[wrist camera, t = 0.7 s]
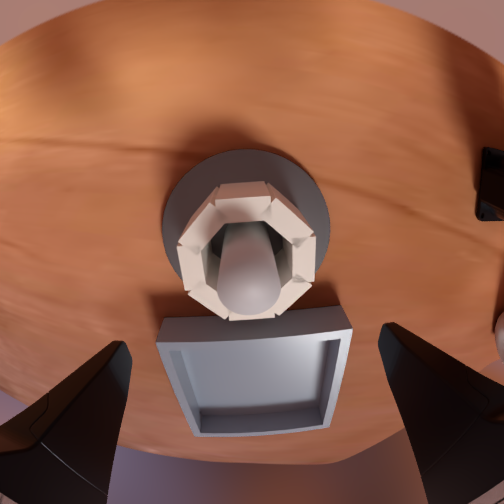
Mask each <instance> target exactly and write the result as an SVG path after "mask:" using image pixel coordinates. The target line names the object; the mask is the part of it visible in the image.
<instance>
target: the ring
mask: <svg viewBox="0 0 504 504" xmlns="http://www.w3.org/2000/svg"><path fill="white" fill-rule="evenodd" d="M251 221H265V222H267V223H268V224H269V225H270V226H271V227H273V228H274V229H275V230H276V231H277V232H278V233H280V234H281V235H282V238H283V248H282V249H281V250H280V251H279V252H278V253H277V254H276V255H275V256H274V258H275V262H276V267H277V271H278V275H279V279H280V283H281V292H280V296H279V298H278V300H277V302H276V303H275V304H274V305H273V306H272V307H271V308H270V309H268V310H267V311H265V312H263V313H260V314H256V315H241V314H237V313H234V312H232V311H230V310H229V309H227V308H226V307H225V306H224V305H223V304H222V302H221V301H220V299H219V297H218V294H217V282H218V275H219V268H220V261H221V259H220V258H219V257H217V256H216V255H215V254H213V253H212V245H211V239H212V237H213V236H214V235H215V234H216V233H217V232H218V231H219V229H220V228H221V227H222V226H223V225H224V224H225V223H238V222H251ZM313 232H314V231H313V230H312V228H311V227H310V225H309V224H308V222H307V221H306V219H305V218H304V216H303V215H302V213H301V212H300V211H299V209H298V208H296V207H295V206H294V205H293V204H292V203H291V202H290V201H289V200H288V199H287V198H285V197H284V196H283V195H282V194H281V193H280V192H279V191H278V190H276V189H275V188H274V187H273V186H272V185H271V184H270V183H268V184H267V185H266V184H265V182H264V181H257V182H242V183H229V184H221V185H220V188H218V187H216V188H215V189H214V190H213V191H212V193H211V194H210V195H209V196H208V197H207V199H206V200H205V201H204V202H203V203H202V205H201V206H200V207H199V208H198V209H197V211H196V212H195V213H194V214H193V216H192V217H191V218H190V220H189V222H188V224H187V226H186V227H185V229H184V231H183V233H182V235H181V237H180V239H179V240H178V242H179V243H178V245H177V251H178V257H179V262H180V267H181V273H182V278H183V283H184V288H185V291H187V290H189V292H188V295H189V296H191V297H192V298H194V299H195V300H196V301H198V302H199V303H201V304H202V305H204V306H205V307H207V308H208V309H210V310H211V311H213V312H214V313H216V314H217V315H219V316H220V317H222V318H223V319H226V318H227V317H228V316H229V321H233V320H249V319H263V318H275V313H276V314H277V315H281V314H282V313H283V312H284V311H285V310H286V309H287V308H288V307H290V306H291V305H292V304H293V303H294V302H295V301H296V300H297V299H298V298H299V297H301V296H302V295H303V294H304V293H305V292H306V291H307V290H308V289H309V288H310V287H311V286H312V284H311V282H314V276H315V250H316V236H315V234H314V233H313Z"/></svg>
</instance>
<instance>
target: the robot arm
mask: <svg viewBox="0 0 504 504" xmlns="http://www.w3.org/2000/svg"><path fill="white" fill-rule="evenodd" d="M487 152H488V154H487ZM476 217H477V219H478V220H480V221H504V151H501V150H498V149H494V148H490V147H484V149H483V156H482V172H481V183H480V192H479V200H478V208H477V214H476ZM378 347H379V351H380V354H381V358H382V361H383V365H384V369H385V372H386V376H387V380H388V383H389V385H390V388H391V391H392V393H393V396H394V398H395V401H396V404H397V406H398V409H399V412H400V415H401V417H402V420H403V423H404V426H405V428H406V431H407V434H408V437H409V440H410V443H411V446H412V449H413V452H414V455H415V458H416V461H417V465H418V468H419V471H420V475H421V479H422V482H423V486H424V489H425V493H426V497H427V500H428V504H504V386H503V385H501V384H499V383H497V382H495V381H493V380H491V379H489V378H487V377H485V376H483V375H482V374H480V373H478V372H476V371H475V370H473V369H471V368H470V367H468V366H466V365H465V364H463V363H461V362H460V361H458V360H457V359H455V358H453V357H452V356H450V355H448V354H447V353H445V352H443V351H442V350H440V349H438V348H437V347H435V346H433V345H432V344H430V343H428V342H427V341H425V340H423V339H422V338H420V337H418V336H417V335H415V334H413V333H412V332H410V331H408V330H407V329H405V328H403V327H402V326H400V325H398V324H397V323H395V322H390V323H385V324H383V326H382V328H381V332H380V336H379V340H378ZM131 369H132V357H131V354H130V352H129V350H128V347H127V345H126V343H125V342H124V341H116V340H115V341H112V342H111V343H110V344H108V345H107V346H106V347H105V348H103V349H102V350H101V351H99V352H98V353H97V354H96V355H94V356H93V357H92V358H91V359H89V360H88V361H87V362H85V363H84V364H83V365H82V366H80V367H79V368H78V369H77V370H75V371H74V372H73V373H71V374H70V375H69V376H68V377H66V378H65V379H64V380H63V381H61V382H60V383H59V384H58V385H56V386H55V387H54V388H53V389H51V390H50V391H49V393H46V394H45V395H44V396H43V397H41V398H40V399H39V400H37V401H36V402H35V403H33V404H32V405H31V406H29V407H28V408H26V409H25V410H24V411H22V412H21V413H19V414H18V415H16V416H15V417H13V418H12V419H10V420H9V421H7V422H6V423H4V424H2V425H1V426H0V504H106V503H107V497H108V496H107V495H108V489H109V483H110V477H111V471H112V465H113V461H114V456H115V450H116V446H117V441H118V436H119V432H120V427H121V423H122V418H123V414H124V410H125V406H126V402H127V397H128V390H129V383H130V376H131Z"/></svg>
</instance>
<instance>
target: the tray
mask: <svg viewBox="0 0 504 504" xmlns="http://www.w3.org/2000/svg"><path fill="white" fill-rule="evenodd" d="M352 330H353V328H352V326H351V324H350V322H349V320H348V318H347V316H346V314H345V312H344V310H343V308H342V306H341V305H337V306H329V307H320V308H310V309H300V310H290V311H284V312H283V313H282V314H281V315H277V314H276V313H275V318H263V319H249V320H233V321H229V316H228V317H227V318H226V319H223V318H222V317H220V316H198V317H165V318H164V319H163V322H162V325H161V328H160V331H159V334H158V337H157V340H156V345H157V348H158V351H159V354H160V356H161V359H162V362H163V364H164V367H165V370H166V372H167V375H168V377H169V380H170V382H171V385H172V387H173V390H174V392H175V394H176V397H177V399H178V401H179V404H180V406H181V408H182V411H183V413H184V415H185V417H186V419H187V422H188V424H189V426H190V428H191V430H192V432H193V434H194V436H197V437H238V436H259V435H272V434H283V433H292V432H300V431H308V430H314V429H321V428H327V427H329V426H330V423H331V419H332V416H333V412H334V409H335V405H336V401H337V397H338V394H339V390H340V386H341V382H342V377H343V373H344V369H345V364H346V360H347V355H348V350H349V346H350V341H351V335H352Z"/></svg>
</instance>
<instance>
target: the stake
mask: <svg viewBox="0 0 504 504" xmlns="http://www.w3.org/2000/svg"><path fill="white" fill-rule="evenodd" d="M257 181H264V182H265V184H266V185H267V184H268V183H270V184H271V185H272V186H273V187H274V188H275V189H276V190H278V191H279V192H280V193H281V194H282V195H283V196H284V197H285V198H287V199H288V200H289V201H290V202H291V203H292V204H293V205H294V206H295V207H296V208H298V209H299V211H300V212H301V213H302V215H303V216H304V218H305V219H306V221H307V222H308V224H309V225H310V227H311V228H312V230H313V231H314V232H313V233H314V234H315V236H316V250H315V273H316V271H317V270H318V269H319V267H320V265H321V263H322V261H323V259H324V257H325V254H326V252H327V248H328V244H329V238H330V218H329V213H328V208H327V205H326V202H325V200H324V197H323V195H322V193H321V191H320V190H319V188H318V187H317V185H316V184H315V182H314V181H313V180H312V179H311V178H310V177H309V175H308V174H307V173H306V172H304V171H303V170H302V169H301V168H300V167H298V166H297V165H296V164H294V163H292V162H291V161H289V160H287V159H286V158H284V157H281V156H279V155H277V154H274V153H270V152H267V151H262V150H255V149H238V150H231V151H226V152H223V153H219V154H216V155H214V156H212V157H210V158H207V159H205V160H204V161H202V162H201V163H199V164H197V165H196V166H195V167H193V168H192V169H191V170H190V171H189V172H188V173H186V174H185V175H184V177H183V178H182V179H181V180H180V181H179V182H178V184H177V185H176V187H175V188H174V190H173V191H172V193H171V195H170V197H169V199H168V201H167V204H166V208H165V211H164V216H163V222H162V235H163V243H164V247H165V251H166V254H167V257H168V259H169V261H170V263H171V265H172V267H173V269H174V270H175V272H176V273H177V274H178V276H179V277H180V278H181V279H182V280H183V278H182V273H181V267H180V262H179V257H178V251H177V245H178V243H179V242H178V240H179V239H180V237H181V235H182V233H183V231H184V229H185V227H186V226H187V224H188V222H189V220H190V218H191V217H192V216H193V214H194V213H195V212H196V211H197V209H198V208H199V207H200V206H201V205H202V203H203V202H204V201H205V200H206V199H207V197H208V196H209V195H210V194H211V193H212V191H213V190H214V189H215V188H216V187H218V188H220V185H221V184H229V183H242V182H257ZM211 245H212V253H213V254H215V255H216V256H217V257H219V258H220V259H221V261H220V268H219V275H218V282H217V294H218V297H219V299H220V301H221V302H222V304H223V305H224V306H225V307H226V308H227V309H229V310H230V311H232V312H234V313H237V314H241V315H256V314H260V313H263V312H265V311H267V310H268V309H270V308H271V307H272V306H273V305H274V304H275V303H276V302H277V300H278V298H279V296H280V292H281V283H280V279H279V275H278V271H277V267H276V262H275V258H274V256H275V255H276V254H277V253H278V252H279V251H280V250H281V249H282V248H283V238H282V235H281V234H280V233H278V232H277V231H276V230H275V229H274V228H273V227H271V226H270V225H269V224H268V223H267V222H265V221H251V222H238V223H225V224H224V225H223V226H222V227H221V228H220V229H219V231H218V232H217V233H216V234H215V235H214V236H213V237H212V239H211Z"/></svg>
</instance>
